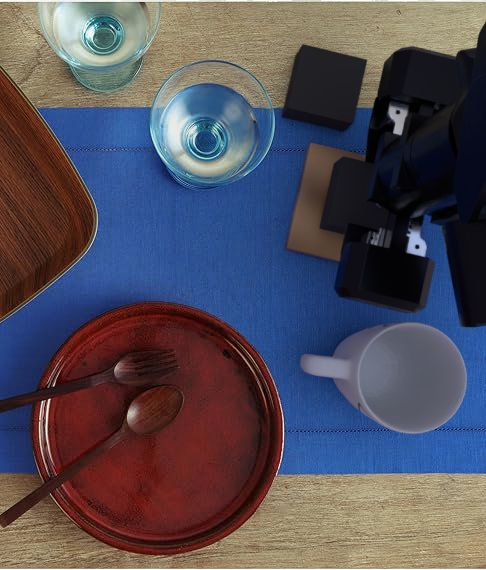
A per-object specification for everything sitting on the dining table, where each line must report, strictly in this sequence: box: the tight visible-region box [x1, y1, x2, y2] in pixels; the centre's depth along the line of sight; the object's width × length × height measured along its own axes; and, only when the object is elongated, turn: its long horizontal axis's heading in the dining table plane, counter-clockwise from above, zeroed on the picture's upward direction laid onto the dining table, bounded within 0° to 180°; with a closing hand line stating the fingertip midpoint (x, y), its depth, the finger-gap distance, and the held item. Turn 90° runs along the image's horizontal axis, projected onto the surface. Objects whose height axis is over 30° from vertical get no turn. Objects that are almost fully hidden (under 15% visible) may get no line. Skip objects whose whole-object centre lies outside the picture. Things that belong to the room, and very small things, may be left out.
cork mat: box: [283, 142, 366, 263], centre depth 57 cm, size 10×10×1 cm
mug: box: [299, 321, 468, 435], centre depth 51 cm, size 11×8×10 cm
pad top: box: [281, 43, 368, 133], centre depth 56 cm, size 6×6×2 cm
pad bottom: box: [319, 156, 389, 234], centre depth 53 cm, size 6×6×2 cm
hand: (362, 201), depth 53 cm, fingers closed on pad bottom, 6 cm apart
